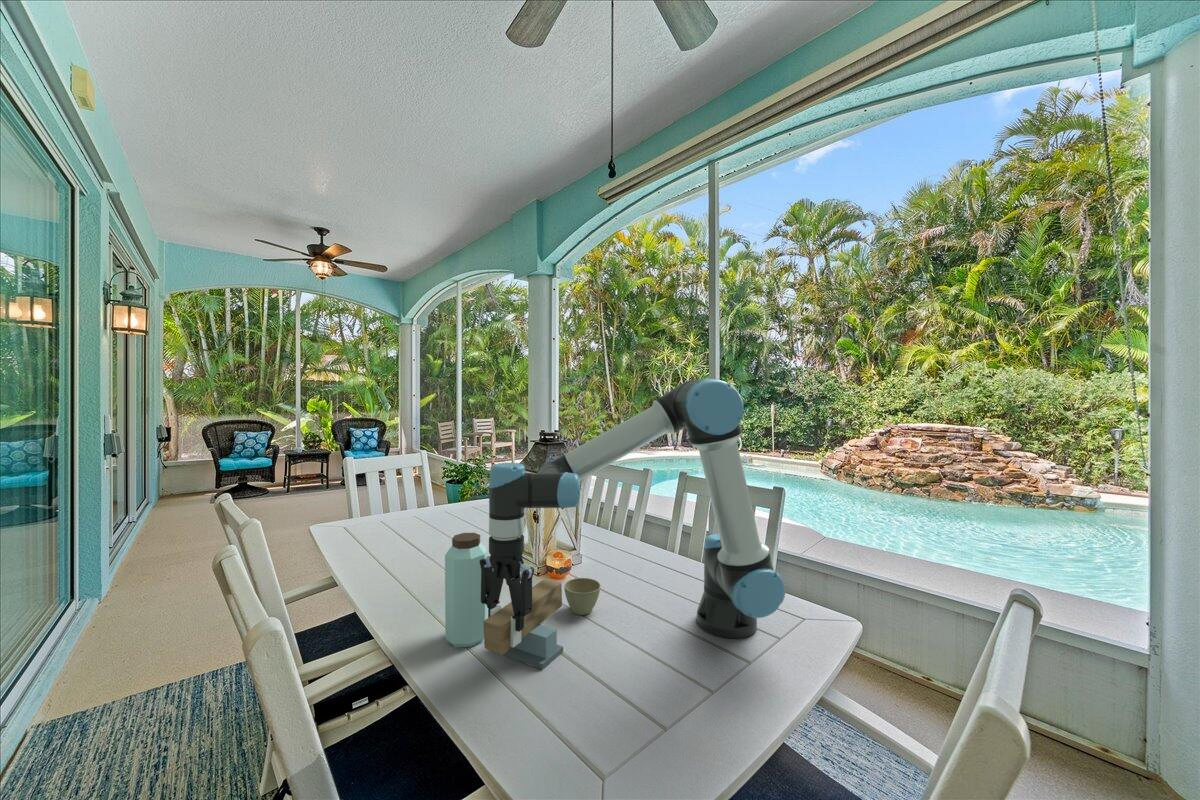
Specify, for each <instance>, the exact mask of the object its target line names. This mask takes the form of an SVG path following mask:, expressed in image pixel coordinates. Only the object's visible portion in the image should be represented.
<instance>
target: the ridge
mask: <svg viewBox="0 0 1200 800" xmlns="http://www.w3.org/2000/svg"><path fill="white" fill-rule="evenodd" d="M557 631H558V630H557V628H556V629H555V628H553V627H550V626H546V625H543V624H542V623H541V624H540V625H538V626H537V627H536V628H535V629H533V630H532V631H531V632H530V633H529V634H527V635H526V636H525V637H524V638H522V639H521V642H520V643H519V644H517V645H516V646H515V647H511V648H510V649H509V650H508V651H507V652H505V653H504V654H503V655H502V656H504V657H507V658H510V659H513V660H516V661H518V662H521V663H523V664H526V665H528V666H531V667H534V668H537V669H540V670H541V671H544V670H545V668H547V667H548V666H549V665H551V663H552V662H554V660H556V659H557V658H558V657H559V656H560V655H562V654H563V652H564V646H562V645H559V644H558V643H557V642H558V641H557V639H558V638H557V637H558V636H557V635H558V634H557Z"/></svg>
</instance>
